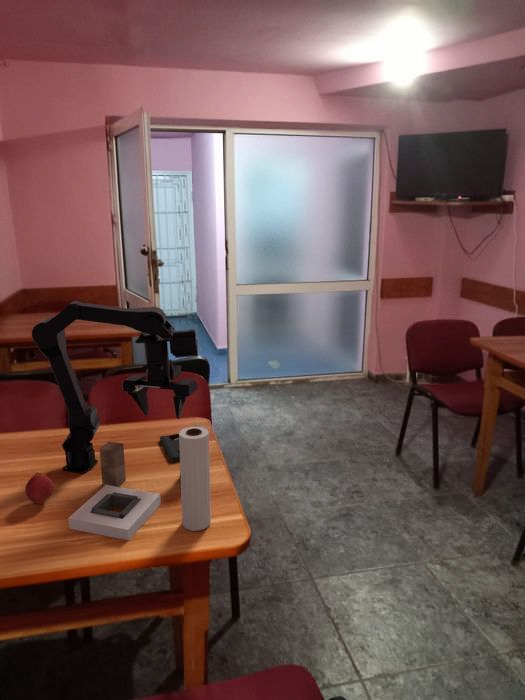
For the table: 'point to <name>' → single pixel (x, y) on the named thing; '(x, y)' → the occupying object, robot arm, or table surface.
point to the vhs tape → (171, 446)
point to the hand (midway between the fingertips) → (162, 416)
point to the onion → (39, 488)
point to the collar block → (112, 523)
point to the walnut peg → (112, 464)
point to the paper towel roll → (195, 477)
